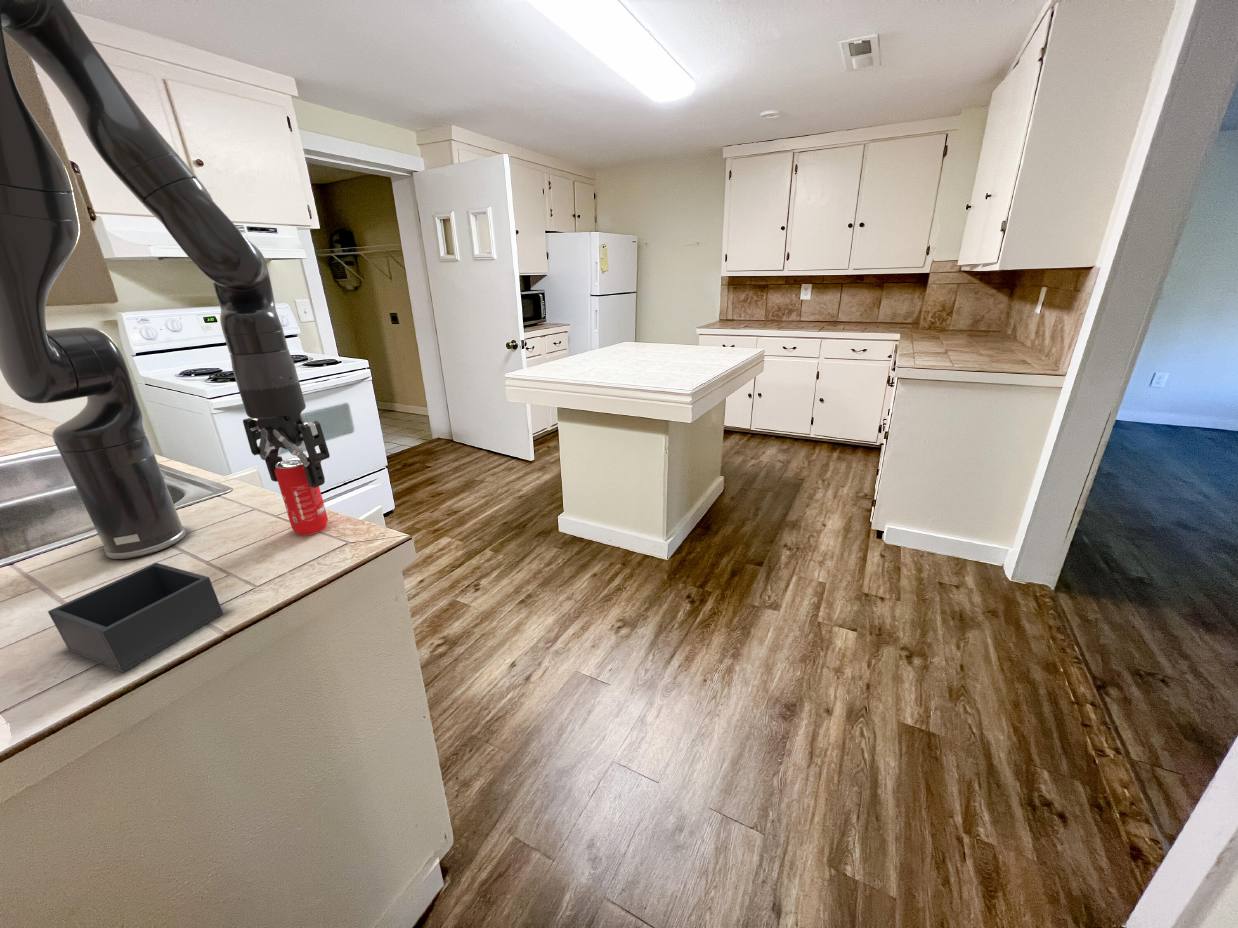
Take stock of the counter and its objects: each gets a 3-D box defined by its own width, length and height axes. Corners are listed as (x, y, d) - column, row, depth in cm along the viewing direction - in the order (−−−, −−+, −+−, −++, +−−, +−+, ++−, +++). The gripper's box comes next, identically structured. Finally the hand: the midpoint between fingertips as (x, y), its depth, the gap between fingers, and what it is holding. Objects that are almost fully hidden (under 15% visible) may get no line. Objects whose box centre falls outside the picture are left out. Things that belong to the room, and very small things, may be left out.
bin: (69, 650, 55) (47, 611, 53) (171, 597, 64) (156, 562, 62) (123, 672, 52) (102, 631, 50) (223, 613, 61) (209, 576, 59)
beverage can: (313, 538, 78) (293, 469, 74) (286, 535, 79) (264, 467, 75) (336, 522, 83) (319, 457, 79) (310, 520, 84) (292, 455, 80)
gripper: (326, 379, 73) (351, 479, 78) (261, 375, 77) (289, 469, 83) (277, 390, 66) (308, 498, 72) (210, 385, 71) (244, 486, 77)
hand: (298, 482), depth 78 cm, fingers open, 8 cm apart
